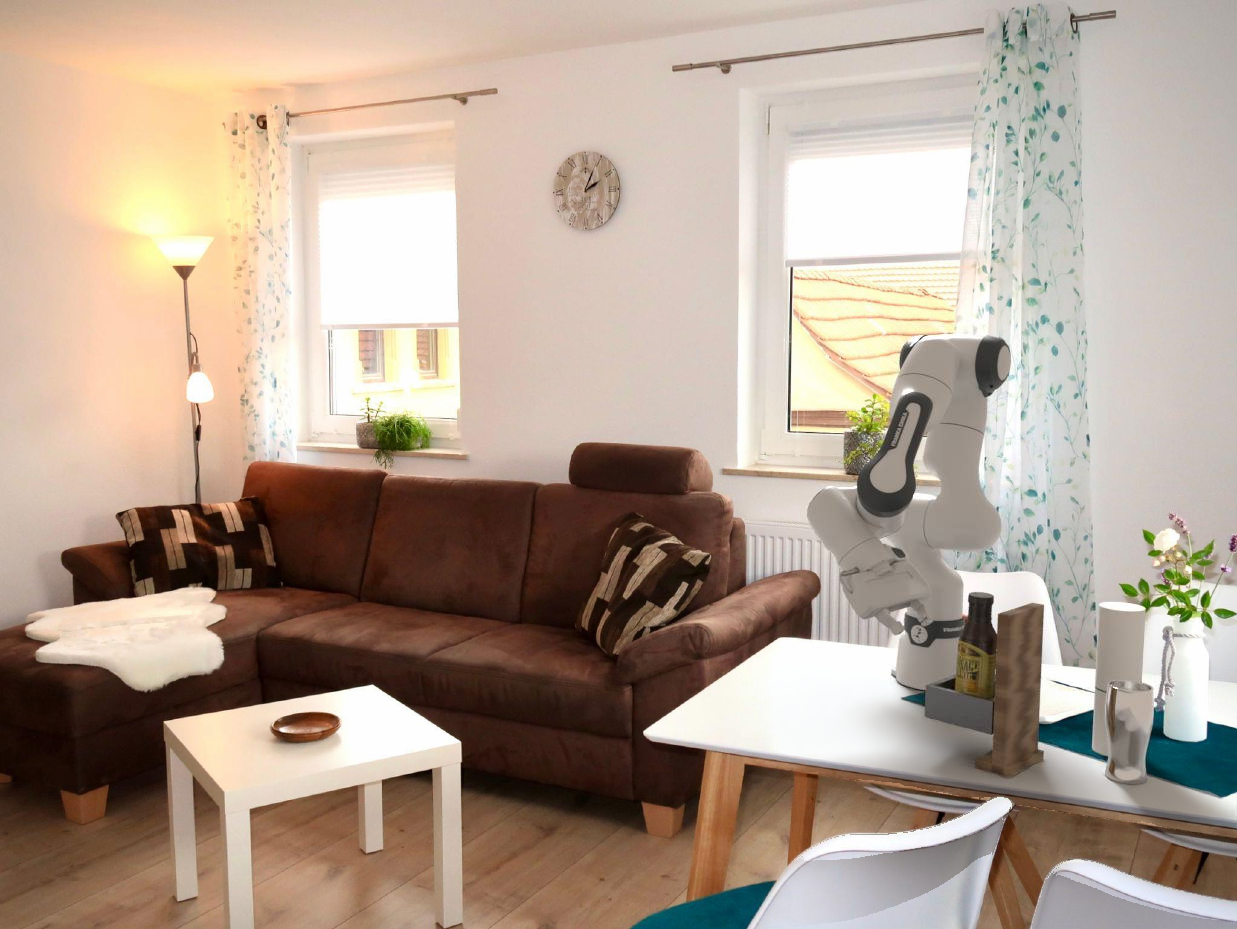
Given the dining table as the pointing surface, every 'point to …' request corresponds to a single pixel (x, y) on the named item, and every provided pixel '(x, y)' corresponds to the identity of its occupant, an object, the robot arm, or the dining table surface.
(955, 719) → the open rectangular box
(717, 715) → the dining table surface
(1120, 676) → the cylindrical container
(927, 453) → the robot arm
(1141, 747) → the beer glass
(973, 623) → the sauce bottle
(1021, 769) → the wall board
